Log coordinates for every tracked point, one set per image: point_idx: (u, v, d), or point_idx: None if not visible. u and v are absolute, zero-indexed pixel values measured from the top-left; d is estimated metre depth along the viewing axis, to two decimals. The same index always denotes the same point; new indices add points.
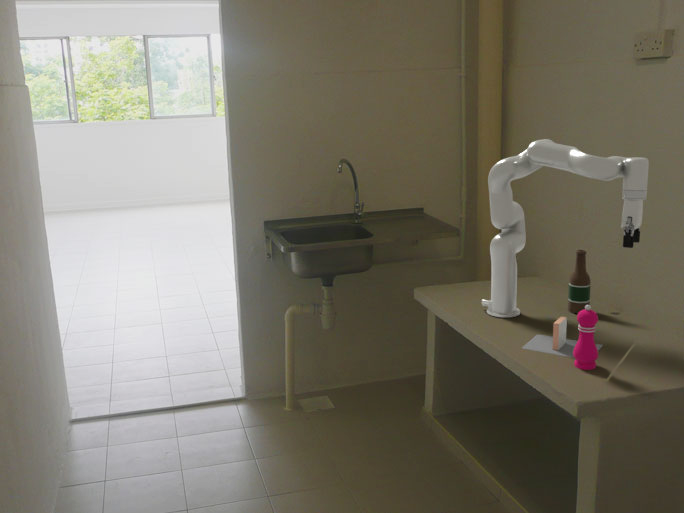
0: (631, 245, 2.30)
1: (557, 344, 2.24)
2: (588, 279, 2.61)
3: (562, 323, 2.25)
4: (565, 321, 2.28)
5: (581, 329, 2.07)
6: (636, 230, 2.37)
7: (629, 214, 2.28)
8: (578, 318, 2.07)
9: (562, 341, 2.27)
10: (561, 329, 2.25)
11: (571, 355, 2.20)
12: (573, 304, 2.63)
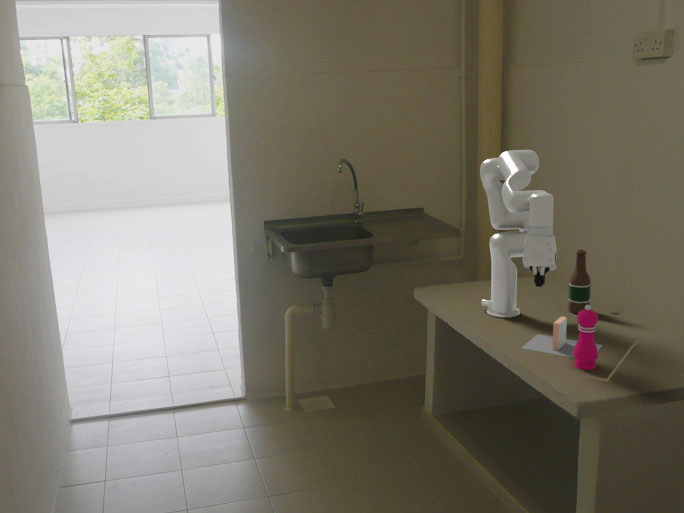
0: None
1: (557, 344, 2.24)
2: (588, 279, 2.61)
3: (562, 323, 2.25)
4: (565, 321, 2.28)
5: (581, 329, 2.07)
6: None
7: (555, 250, 2.23)
8: (578, 318, 2.07)
9: (562, 341, 2.27)
10: (561, 329, 2.25)
11: (571, 355, 2.20)
12: (573, 304, 2.63)
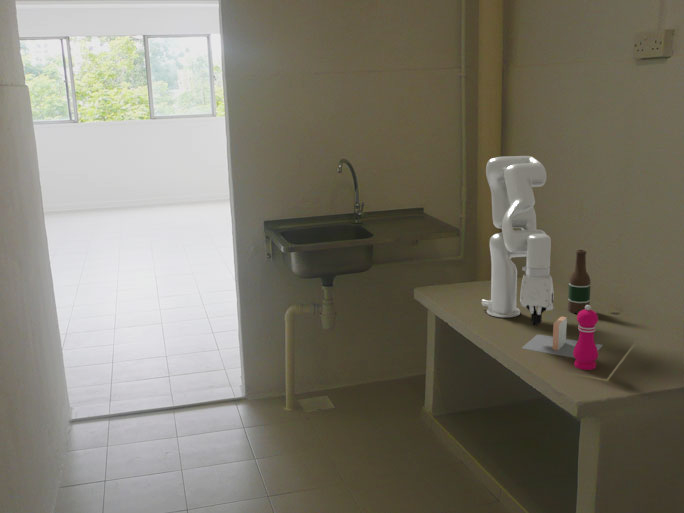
0: None
1: (557, 344, 2.24)
2: (588, 279, 2.61)
3: (562, 323, 2.25)
4: (565, 321, 2.28)
5: (581, 329, 2.07)
6: None
7: (552, 291, 2.26)
8: (578, 318, 2.07)
9: (562, 341, 2.27)
10: (561, 329, 2.25)
11: (571, 355, 2.20)
12: (573, 304, 2.63)
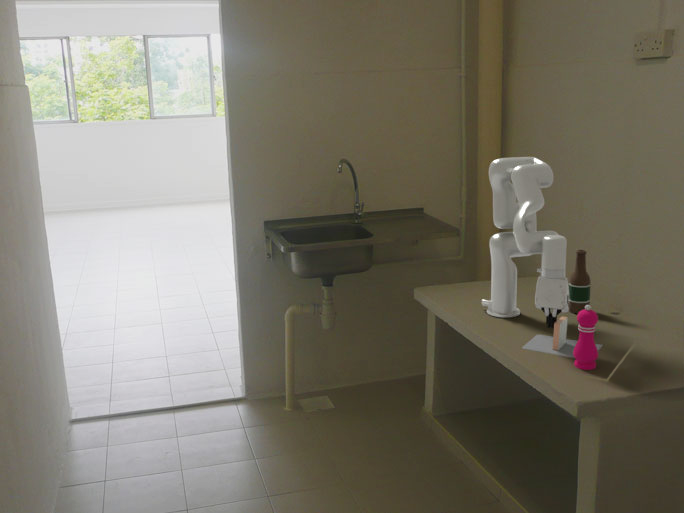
0: None
1: (557, 344, 2.24)
2: (588, 279, 2.61)
3: (563, 323, 2.25)
4: (566, 321, 2.28)
5: (581, 329, 2.07)
6: None
7: (567, 292, 2.23)
8: (578, 318, 2.07)
9: (562, 341, 2.27)
10: (562, 329, 2.25)
11: (571, 355, 2.20)
12: (573, 304, 2.63)
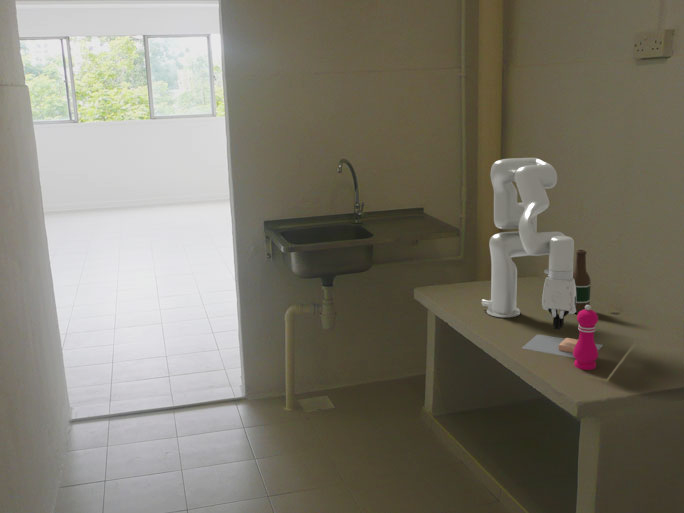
0: None
1: (564, 350, 2.23)
2: (588, 279, 2.61)
3: None
4: None
5: (581, 329, 2.07)
6: None
7: (575, 294, 2.22)
8: (578, 318, 2.07)
9: None
10: None
11: (571, 355, 2.20)
12: None
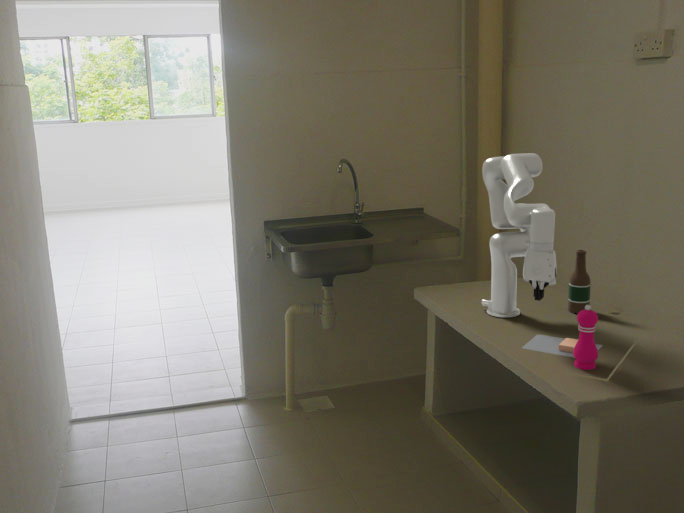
0: None
1: (564, 350, 2.23)
2: (588, 279, 2.61)
3: None
4: None
5: (581, 329, 2.07)
6: None
7: (555, 265, 2.24)
8: (578, 318, 2.07)
9: None
10: None
11: (571, 355, 2.20)
12: (573, 304, 2.63)
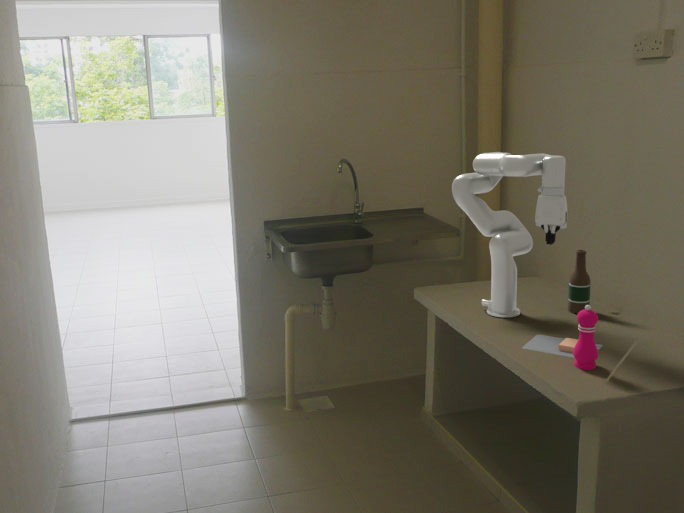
0: None
1: (564, 350, 2.23)
2: (588, 279, 2.61)
3: None
4: None
5: (581, 329, 2.07)
6: (550, 229, 2.42)
7: (566, 210, 2.36)
8: (578, 318, 2.07)
9: None
10: None
11: (571, 355, 2.20)
12: (573, 304, 2.63)
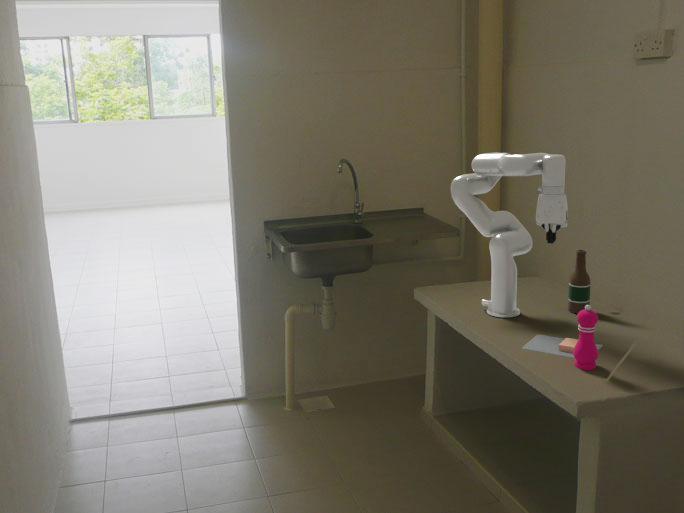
0: None
1: (564, 350, 2.23)
2: (588, 279, 2.61)
3: None
4: None
5: (581, 329, 2.07)
6: None
7: (566, 208, 2.37)
8: (578, 318, 2.07)
9: None
10: None
11: (571, 355, 2.20)
12: (573, 304, 2.63)
